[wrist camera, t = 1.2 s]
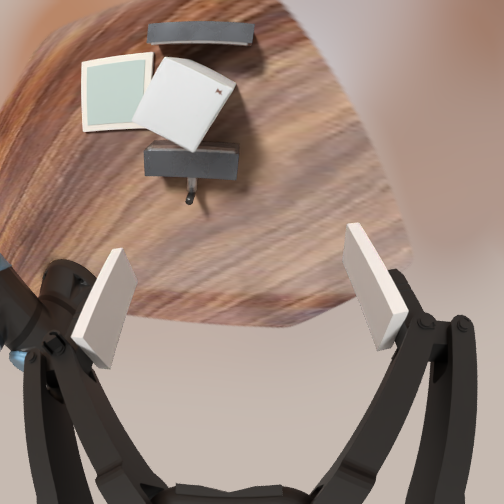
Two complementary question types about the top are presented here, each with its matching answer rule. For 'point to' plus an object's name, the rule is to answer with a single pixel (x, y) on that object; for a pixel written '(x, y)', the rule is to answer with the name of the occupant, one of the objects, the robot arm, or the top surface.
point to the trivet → (114, 90)
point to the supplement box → (183, 101)
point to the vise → (207, 153)
